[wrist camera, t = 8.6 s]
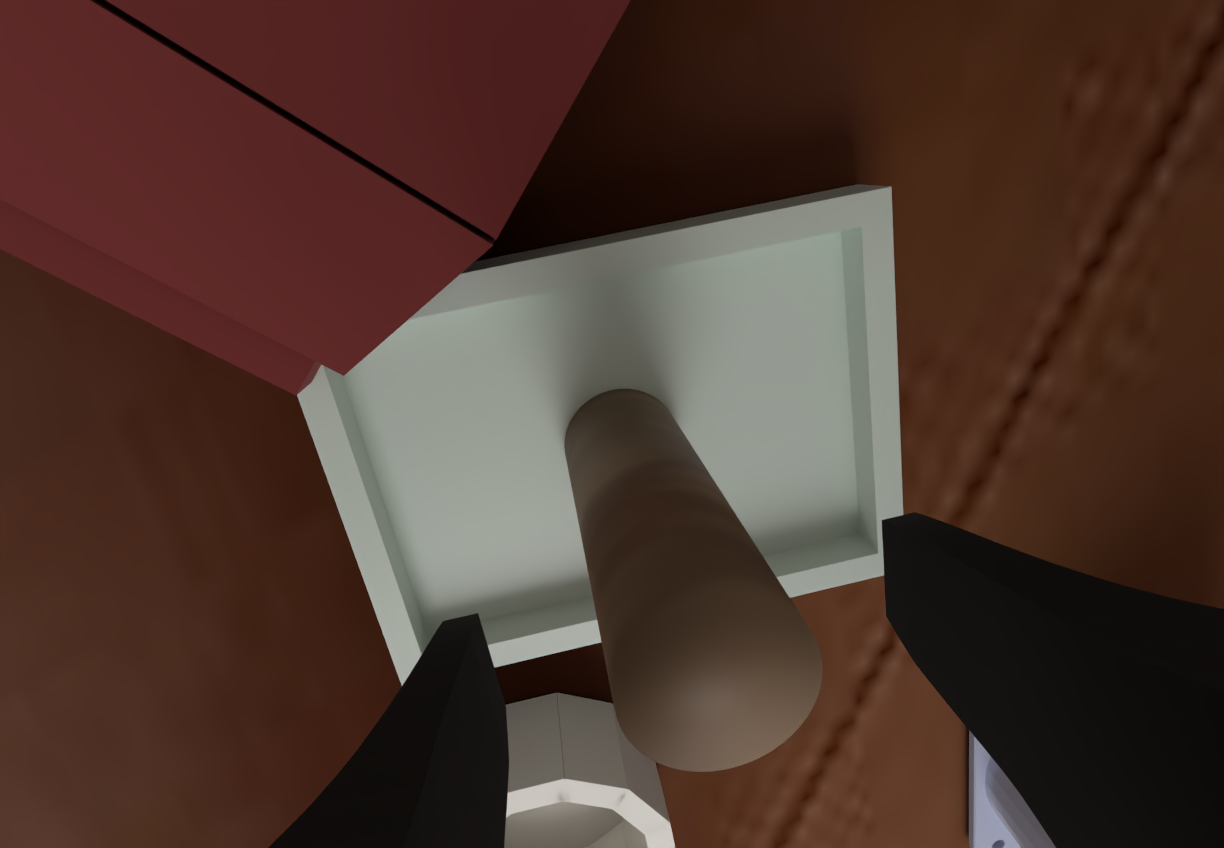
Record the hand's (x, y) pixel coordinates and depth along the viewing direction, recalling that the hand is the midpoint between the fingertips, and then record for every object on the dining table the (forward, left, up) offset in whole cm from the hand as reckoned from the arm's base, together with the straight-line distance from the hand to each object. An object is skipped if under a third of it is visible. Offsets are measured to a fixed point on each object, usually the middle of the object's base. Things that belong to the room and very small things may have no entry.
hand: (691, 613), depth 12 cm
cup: (+5, +12, -9) cm, 15 cm away
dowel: (0, 0, -8) cm, 8 cm away
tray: (0, 0, -9) cm, 9 cm away
